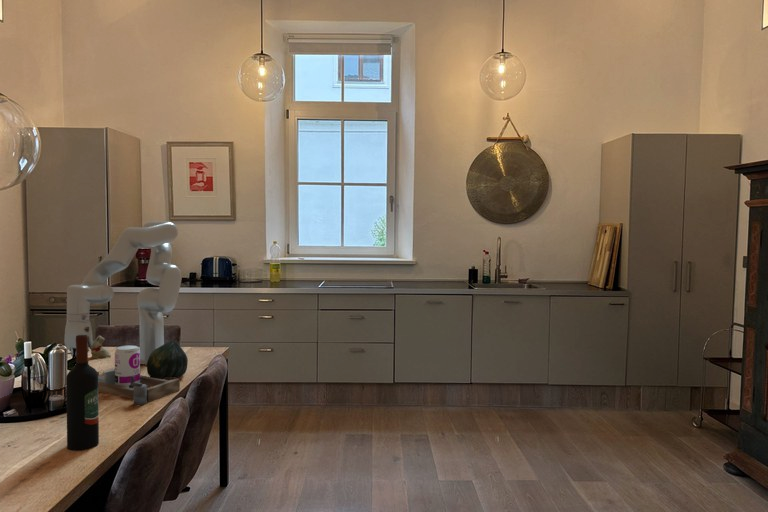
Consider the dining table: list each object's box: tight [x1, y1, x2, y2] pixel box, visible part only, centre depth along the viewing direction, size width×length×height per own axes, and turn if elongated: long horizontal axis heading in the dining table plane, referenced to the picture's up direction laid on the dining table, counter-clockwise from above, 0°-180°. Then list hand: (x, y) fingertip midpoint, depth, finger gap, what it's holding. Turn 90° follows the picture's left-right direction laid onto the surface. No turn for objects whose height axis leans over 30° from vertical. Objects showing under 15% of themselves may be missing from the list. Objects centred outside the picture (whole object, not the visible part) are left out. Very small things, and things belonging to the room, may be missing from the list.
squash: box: [146, 340, 189, 380], centre depth 212 cm, size 14×15×15 cm
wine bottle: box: [65, 335, 100, 452], centre depth 148 cm, size 8×8×30 cm
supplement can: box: [114, 344, 141, 388], centre depth 198 cm, size 8×8×15 cm
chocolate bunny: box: [89, 335, 112, 359], centre depth 240 cm, size 6×8×10 cm
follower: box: [97, 368, 115, 385], centre depth 203 cm, size 10×14×6 cm
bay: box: [98, 374, 181, 407], centre depth 194 cm, size 19×27×9 cm
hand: (77, 366), depth 207 cm, fingers closed
